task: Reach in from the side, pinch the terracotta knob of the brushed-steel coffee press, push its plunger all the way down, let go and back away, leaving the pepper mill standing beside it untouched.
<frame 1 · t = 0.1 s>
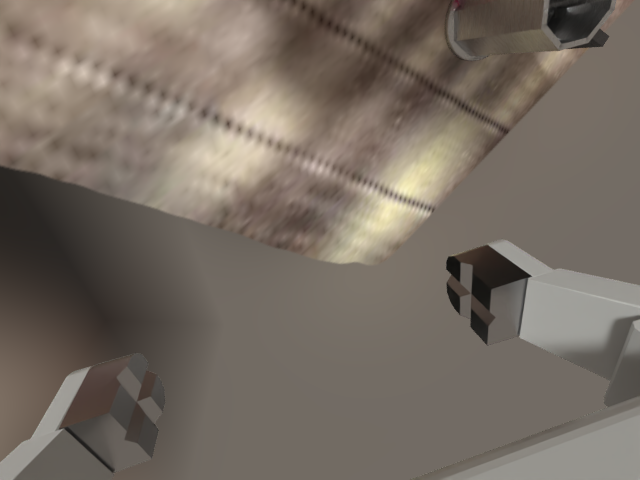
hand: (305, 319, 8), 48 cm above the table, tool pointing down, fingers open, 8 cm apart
press: (477, 20, 51), on the table
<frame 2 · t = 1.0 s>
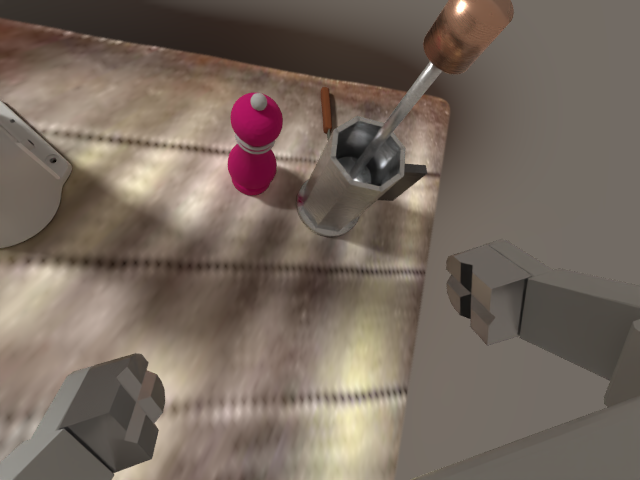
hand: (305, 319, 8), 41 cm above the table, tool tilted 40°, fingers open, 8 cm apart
pepper mill: (251, 178, 53), on the table
press: (328, 205, 55), on the table
plunger: (392, 123, 32), point 24 cm above the table, slide at 9.0 cm
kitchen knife: (325, 129, 59), on the table
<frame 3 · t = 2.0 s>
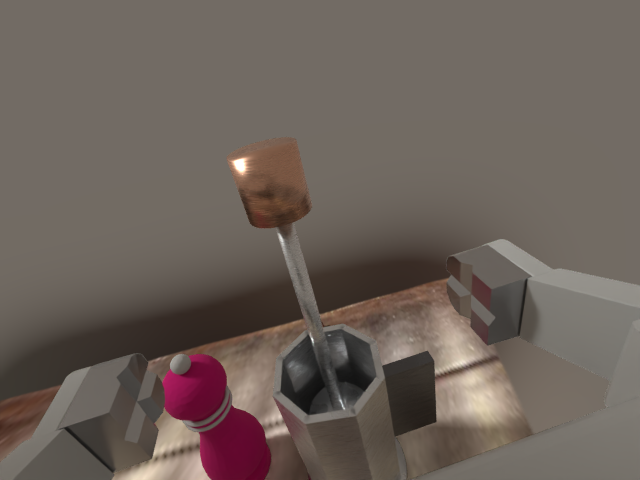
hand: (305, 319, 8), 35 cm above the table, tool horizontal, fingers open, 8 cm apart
pepper mill: (246, 466, 39), on the table
press: (357, 468, 37), on the table
plunger: (311, 316, 25), point 24 cm above the table, slide at 9.0 cm
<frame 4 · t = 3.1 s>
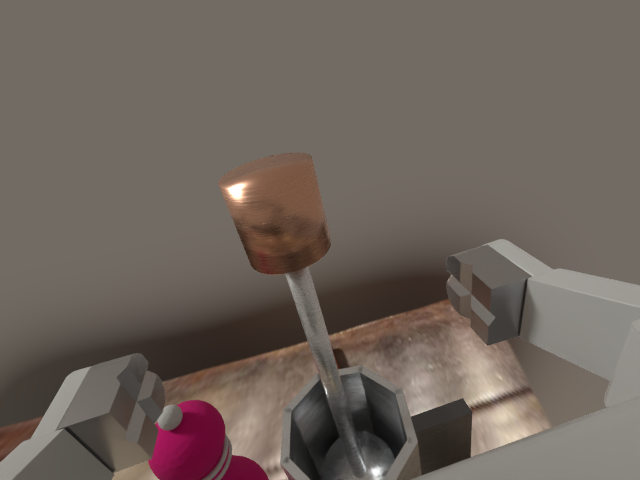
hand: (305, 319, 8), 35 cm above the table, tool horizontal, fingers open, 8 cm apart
plunger: (328, 370, 20), point 24 cm above the table, slide at 9.0 cm
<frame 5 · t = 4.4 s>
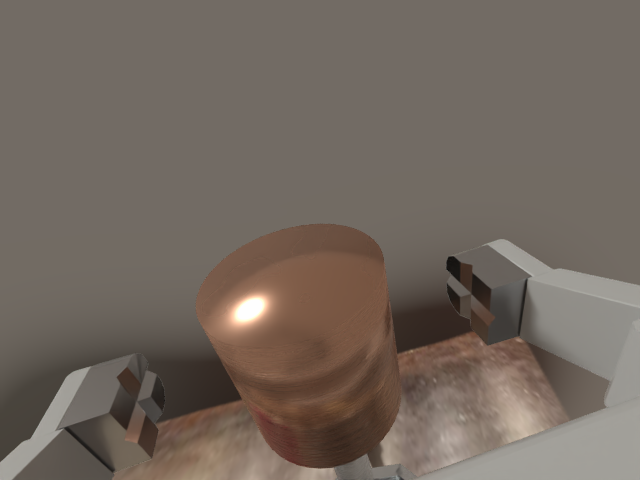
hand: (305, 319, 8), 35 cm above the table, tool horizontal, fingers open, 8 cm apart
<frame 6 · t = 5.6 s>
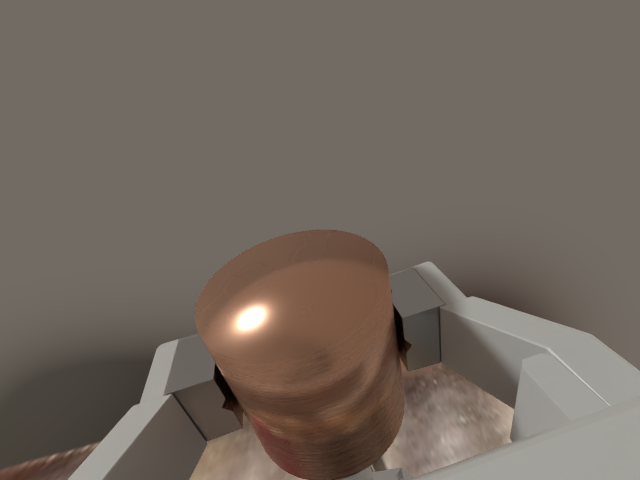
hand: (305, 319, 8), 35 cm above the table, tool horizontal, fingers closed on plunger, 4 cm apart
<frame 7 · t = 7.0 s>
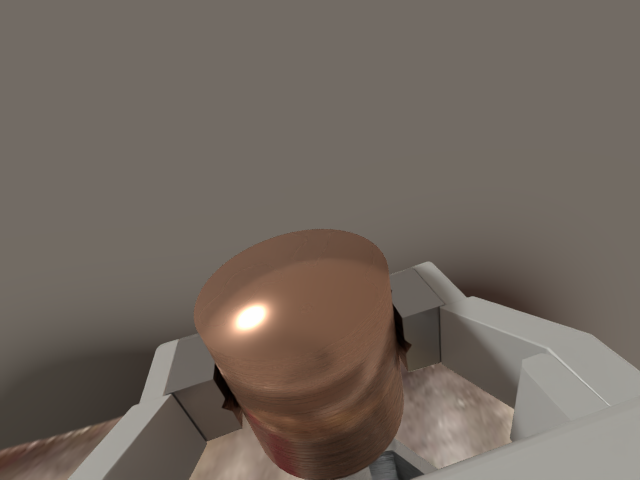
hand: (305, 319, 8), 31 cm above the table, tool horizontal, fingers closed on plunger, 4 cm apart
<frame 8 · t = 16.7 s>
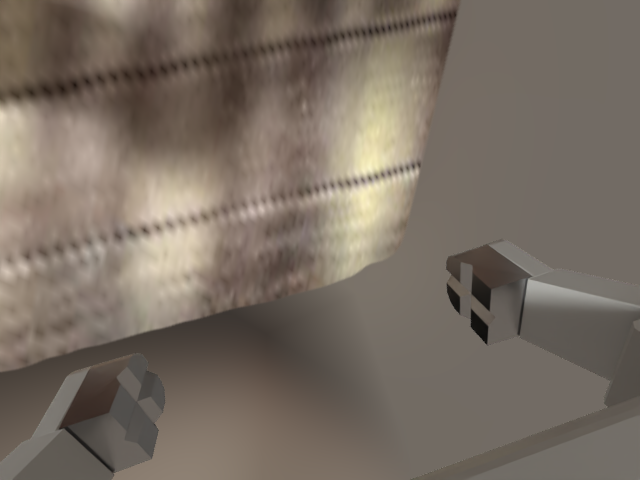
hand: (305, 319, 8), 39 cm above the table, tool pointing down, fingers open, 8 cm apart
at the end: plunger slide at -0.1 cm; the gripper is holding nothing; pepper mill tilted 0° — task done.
